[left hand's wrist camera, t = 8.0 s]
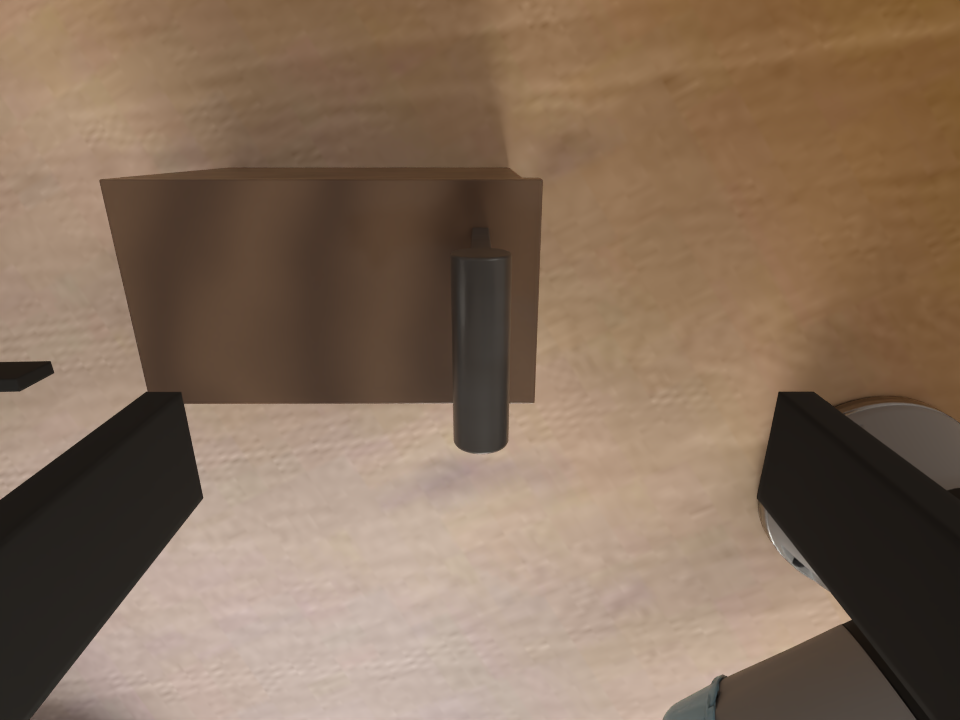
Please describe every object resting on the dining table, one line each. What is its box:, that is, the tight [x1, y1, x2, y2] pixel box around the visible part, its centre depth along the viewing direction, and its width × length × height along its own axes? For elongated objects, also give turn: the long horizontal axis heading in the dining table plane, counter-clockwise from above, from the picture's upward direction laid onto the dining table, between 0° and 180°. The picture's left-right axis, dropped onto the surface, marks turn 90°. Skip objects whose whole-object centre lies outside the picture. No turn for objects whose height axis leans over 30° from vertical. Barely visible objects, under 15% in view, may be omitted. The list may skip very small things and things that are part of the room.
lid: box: [100, 178, 543, 454], centre depth 22 cm, size 18×10×9 cm, turn 90°
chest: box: [121, 168, 522, 178], centre depth 31 cm, size 17×10×11 cm, turn 90°
